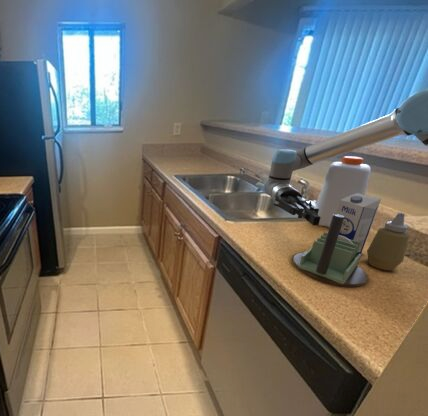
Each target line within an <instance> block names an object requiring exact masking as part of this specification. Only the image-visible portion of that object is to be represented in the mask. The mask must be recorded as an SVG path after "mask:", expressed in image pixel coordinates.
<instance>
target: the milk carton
mask: <svg viewBox="0 0 428 416" xmlns="http://www.w3.org/2000/svg"><path fill="white" fill-rule="evenodd" d="M381 201H382V199H381V198H378V197H375V196H370V195H367V194H365V195H363V194H360V193H356V194H352V195H350V196H348V197H346V198H343V199H341V201H340V204H339V207H338V210H337V214H340V215H343V216H345V217H344V220H343V224H342V227H341V230H340V233H339V235H341V236H344V237H346V238H348V239H350V240H354V241H358V242H361V243H360V246H359V249H358V252H357V254H356V256H358V254H359V253H360V254H362V253H363V250H364V247H365V244H366V242H367V239H368V236H369V234H370V231H371V228H372V225H373V223H374V220H375V217H376V214H377V212H378V209H379V206H380V203H381Z"/></svg>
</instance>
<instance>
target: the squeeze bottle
mask: <svg viewBox="0 0 428 416" xmlns="http://www.w3.org/2000/svg"><path fill="white" fill-rule="evenodd" d="M405 214H406V213H405V212H402V211H399V212H398V213H397V214H396V215H395V217H394V218H393V219H392V220H390V221H386V222H385V224H384V227H383V226H382V227H380V228H378V230H377V232H376V234H375V236H374V237H373V239H372V241H371V243H370V244H369V246H368V248H367V250H366V254H367V263H368V265H370V266H372V267H374V268H376V269H379V270H383V271H394V270H395V269H396V268H397V267H399V265H401V263H403V262H404V258H405V255H406V251H407V248H408V244H409V239H410V234H409V233H408V229H409V225H408V224H405Z"/></svg>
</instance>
